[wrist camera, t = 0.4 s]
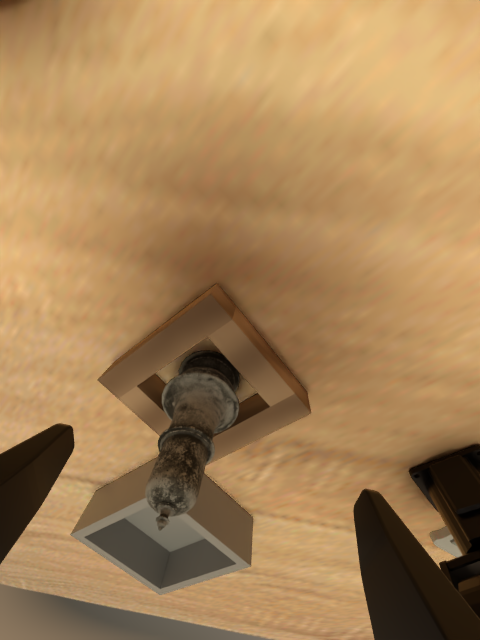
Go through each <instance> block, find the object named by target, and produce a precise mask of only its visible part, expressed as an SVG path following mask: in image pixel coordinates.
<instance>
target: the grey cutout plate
mask: <svg viewBox="0 0 480 640" xmlns="http://www.w3.org/2000/svg"><path fill="white" fill-rule="evenodd" d="M430 537H431V539H432V541H433V543H434V544H435V545H436V546H437V547H439V548H441V549H442V550H444V551H446V552H448V553H450V554H451V555H453V556H455V557H460V556H463V555H462V554H461V552H460V550H459V548H458V546H457V544H456V543H455V541H454V539H453V537H452V535H451V533H450V532H449V530H448V528H447V526H445V527H443V528H441V529H439V530H436V531H432V532H431V533H430Z"/></svg>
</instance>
